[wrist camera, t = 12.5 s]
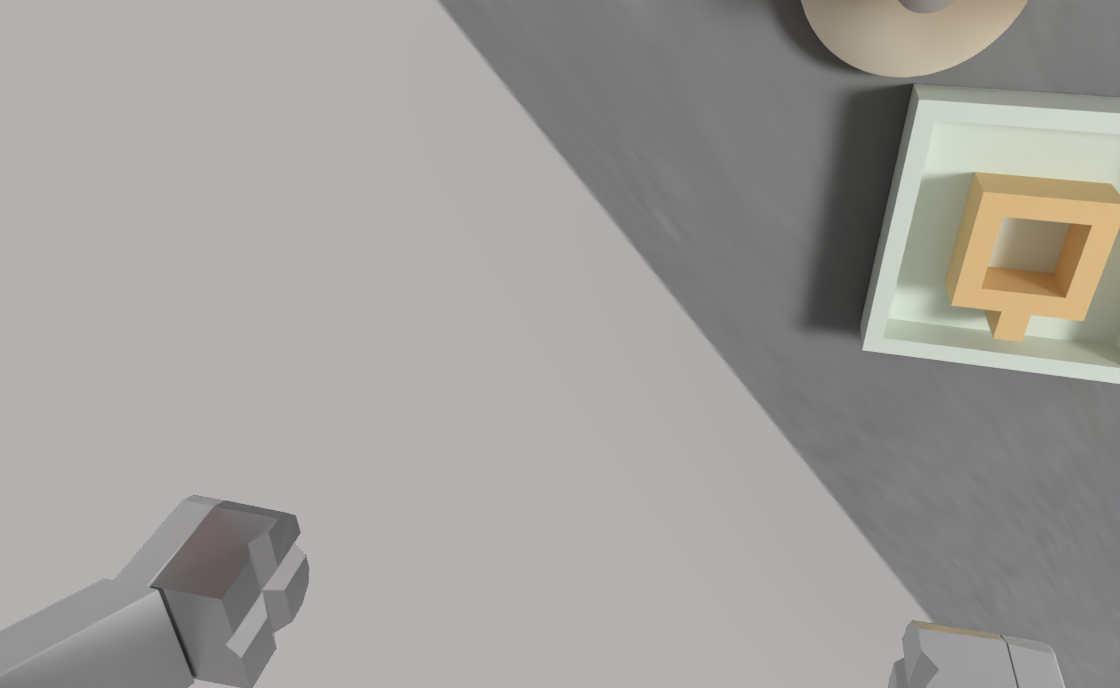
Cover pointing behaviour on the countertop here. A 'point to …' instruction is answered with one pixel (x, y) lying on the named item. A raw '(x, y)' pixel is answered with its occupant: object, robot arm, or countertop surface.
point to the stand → (909, 31)
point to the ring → (1030, 292)
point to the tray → (1023, 244)
